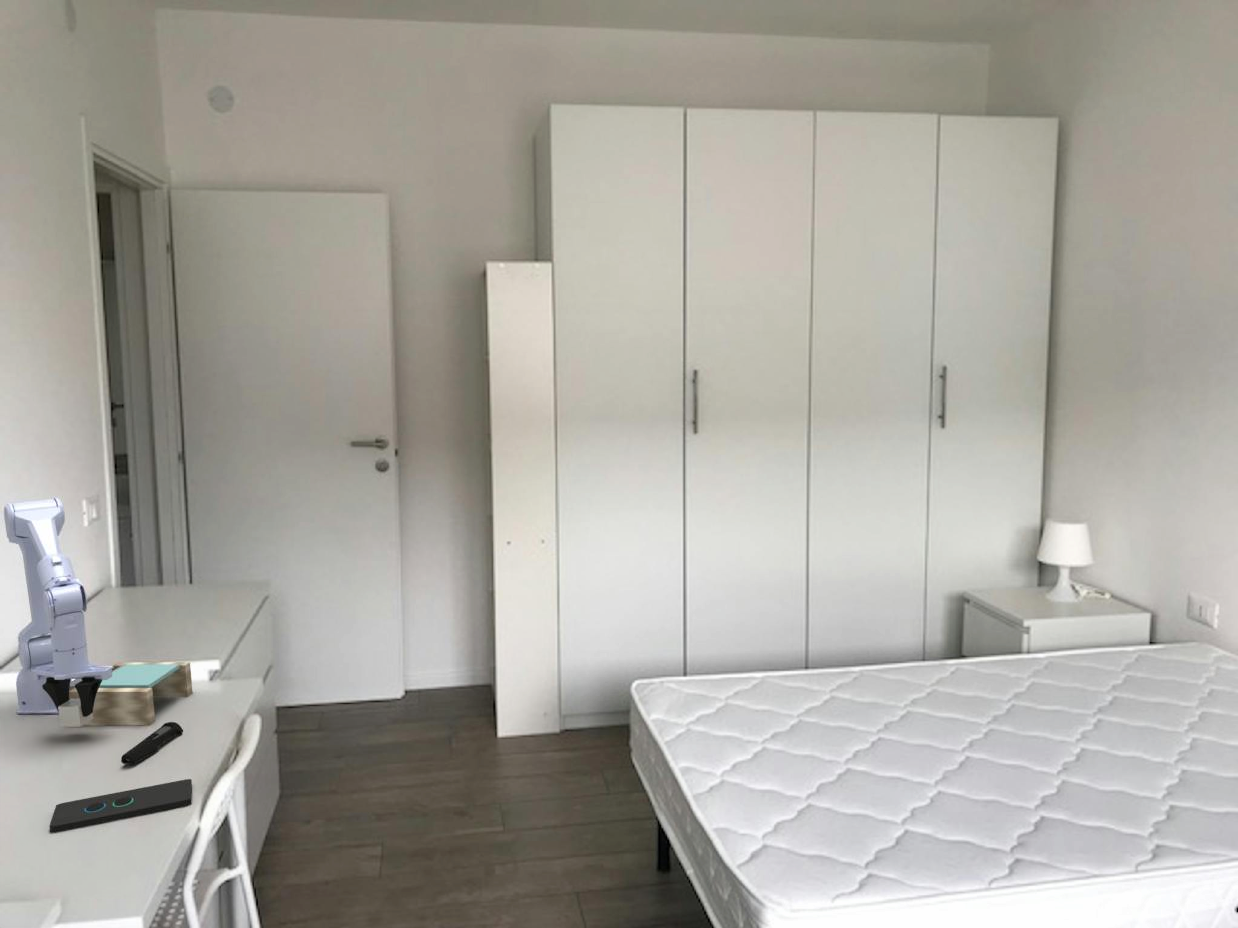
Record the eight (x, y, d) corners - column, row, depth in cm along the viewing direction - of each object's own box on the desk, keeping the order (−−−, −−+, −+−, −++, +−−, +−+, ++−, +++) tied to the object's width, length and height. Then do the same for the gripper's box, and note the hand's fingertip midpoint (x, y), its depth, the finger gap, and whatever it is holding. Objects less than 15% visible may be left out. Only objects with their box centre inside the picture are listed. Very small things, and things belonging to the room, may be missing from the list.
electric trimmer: (115, 770, 163) (113, 753, 163) (167, 733, 178) (165, 717, 178) (135, 771, 163) (133, 754, 162) (185, 733, 178) (183, 718, 178)
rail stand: (66, 725, 182) (63, 691, 182) (116, 693, 199) (113, 662, 198) (149, 725, 182) (146, 691, 181) (192, 692, 199) (190, 662, 198)
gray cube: (60, 726, 174) (58, 706, 174) (73, 718, 178) (71, 698, 178) (80, 726, 174) (78, 706, 174) (93, 718, 178) (91, 698, 178)
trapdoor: (63, 701, 184) (61, 684, 184) (98, 679, 196) (97, 664, 196) (149, 701, 184) (148, 684, 183) (180, 679, 196) (179, 663, 195)
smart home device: (56, 802, 148) (191, 776, 156) (57, 812, 149) (192, 786, 157) (48, 826, 141) (190, 798, 149) (49, 837, 141) (191, 808, 149)
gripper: (18, 653, 171) (25, 722, 173) (93, 653, 170) (100, 723, 172) (43, 641, 178) (50, 708, 180) (115, 641, 177) (122, 708, 179)
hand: (76, 714), depth 176 cm, fingers closed on gray cube, 4 cm apart
